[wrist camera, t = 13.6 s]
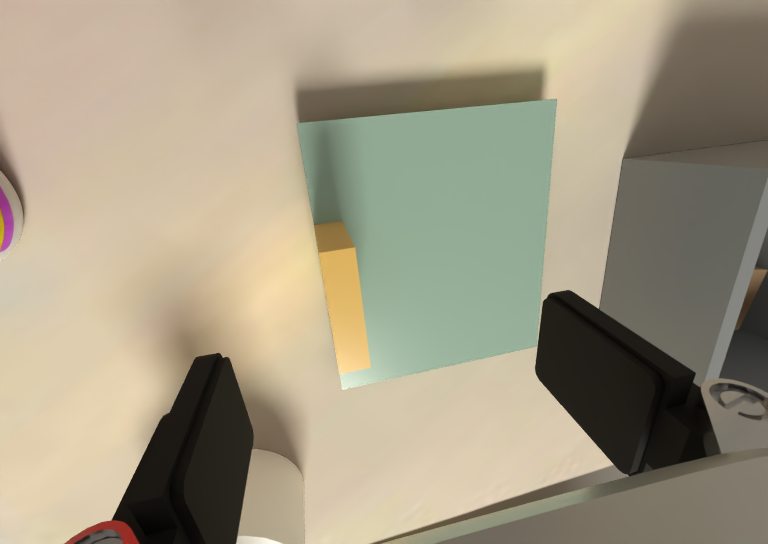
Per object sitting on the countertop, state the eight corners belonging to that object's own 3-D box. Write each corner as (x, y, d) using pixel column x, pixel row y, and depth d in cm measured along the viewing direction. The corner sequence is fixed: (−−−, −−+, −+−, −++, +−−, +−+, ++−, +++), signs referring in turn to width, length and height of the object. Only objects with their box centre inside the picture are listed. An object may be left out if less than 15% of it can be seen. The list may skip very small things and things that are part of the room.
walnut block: (685, 256, 28) (727, 269, 25) (723, 257, 29) (767, 269, 26) (662, 313, 30) (699, 331, 27) (699, 312, 30) (738, 329, 28)
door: (297, 124, 19) (295, 118, 12) (534, 102, 21) (636, 87, 15) (339, 371, 25) (352, 452, 18) (520, 332, 27) (588, 392, 21)
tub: (623, 158, 23) (770, 169, 16) (789, 137, 26) (983, 137, 18) (591, 360, 29) (688, 434, 22) (728, 327, 32) (856, 385, 24)
